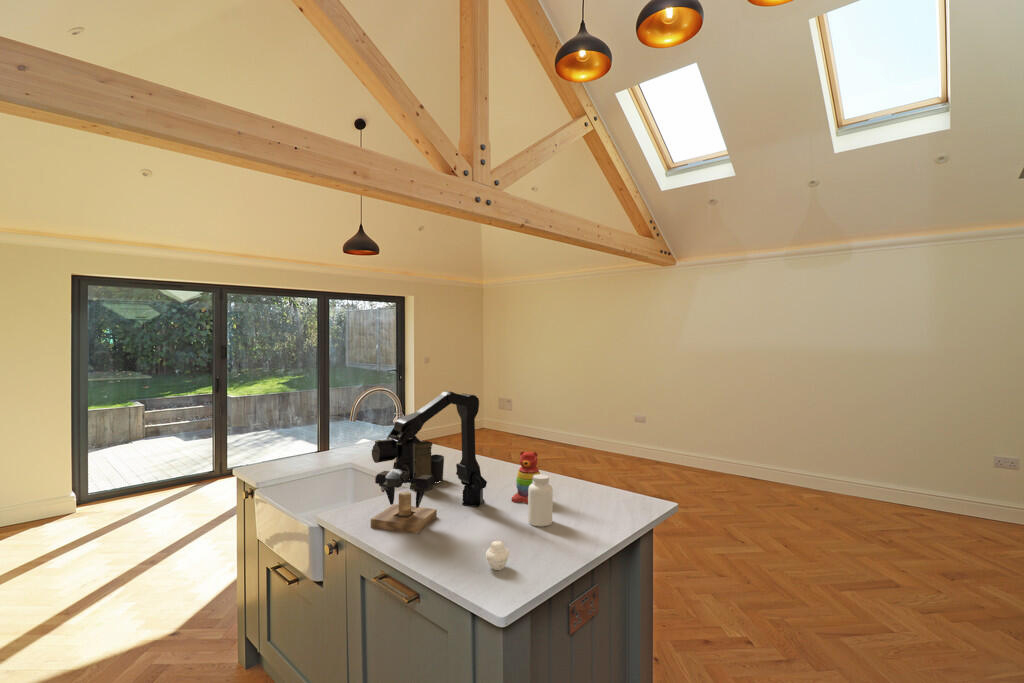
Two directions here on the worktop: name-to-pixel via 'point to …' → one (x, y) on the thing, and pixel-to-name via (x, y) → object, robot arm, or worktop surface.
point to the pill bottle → (540, 501)
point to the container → (422, 460)
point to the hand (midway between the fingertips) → (404, 506)
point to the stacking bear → (525, 475)
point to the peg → (404, 505)
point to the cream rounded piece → (497, 555)
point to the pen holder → (437, 467)
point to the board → (404, 519)
